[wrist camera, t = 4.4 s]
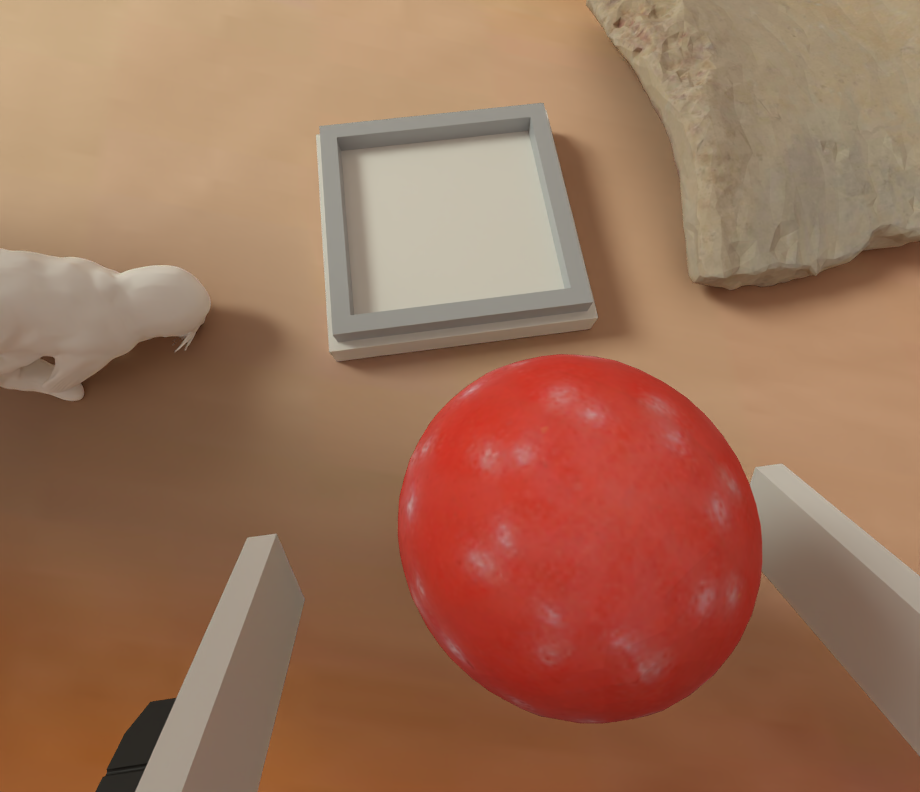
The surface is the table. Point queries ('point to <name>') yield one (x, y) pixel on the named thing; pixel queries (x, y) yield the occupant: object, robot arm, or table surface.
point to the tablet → (782, 126)
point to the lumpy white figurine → (85, 317)
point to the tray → (447, 233)
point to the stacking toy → (580, 538)
